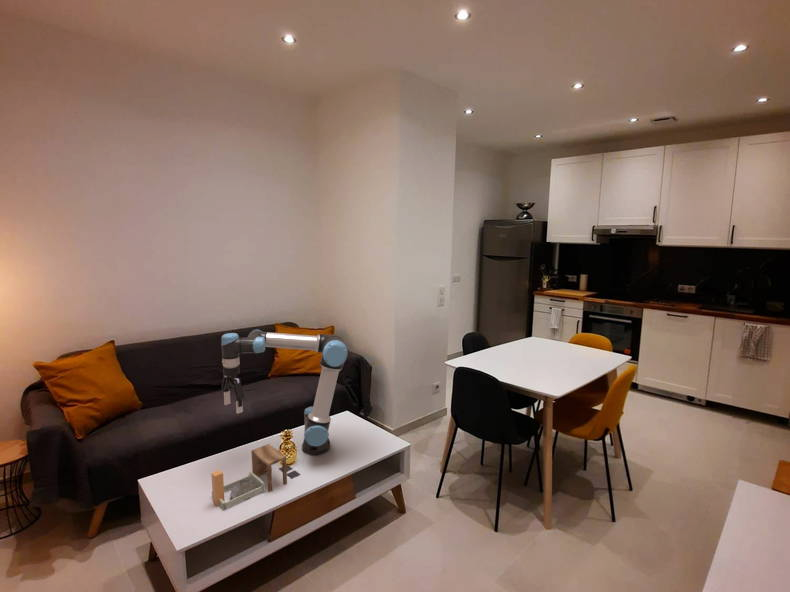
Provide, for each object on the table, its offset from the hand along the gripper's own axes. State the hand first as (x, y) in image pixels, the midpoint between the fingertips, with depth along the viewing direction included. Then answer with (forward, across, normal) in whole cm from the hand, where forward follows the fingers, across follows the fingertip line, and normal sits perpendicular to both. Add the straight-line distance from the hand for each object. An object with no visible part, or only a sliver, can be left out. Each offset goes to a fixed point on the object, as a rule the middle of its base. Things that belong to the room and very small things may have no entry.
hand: (233, 408), depth 200 cm
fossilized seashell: (+32, +21, -6) cm, 39 cm away
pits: (+32, +20, +18) cm, 41 cm away
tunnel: (+32, +20, +7) cm, 38 cm away
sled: (+31, +20, -9) cm, 38 cm away
